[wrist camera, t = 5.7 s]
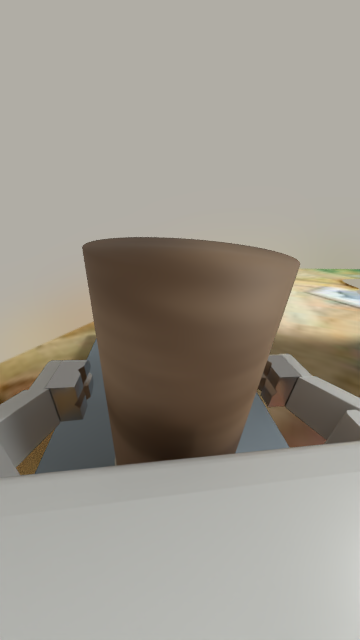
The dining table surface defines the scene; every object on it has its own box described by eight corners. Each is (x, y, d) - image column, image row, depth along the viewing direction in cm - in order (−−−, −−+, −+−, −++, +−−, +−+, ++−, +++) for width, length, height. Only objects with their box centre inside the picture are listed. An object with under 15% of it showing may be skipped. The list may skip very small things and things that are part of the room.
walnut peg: (206, 427, 16) (244, 241, 9) (235, 541, 10) (379, 280, 4) (126, 434, 15) (105, 233, 8) (111, 562, 9) (17, 268, 3)
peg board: (209, 335, 28) (212, 316, 27) (330, 589, 9) (362, 570, 8) (108, 336, 26) (106, 316, 25) (-10, 664, 7) (-50, 658, 6)
